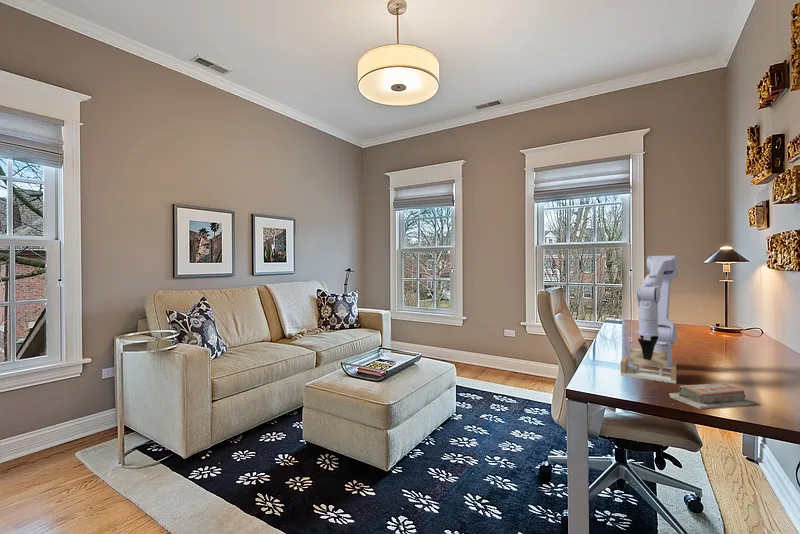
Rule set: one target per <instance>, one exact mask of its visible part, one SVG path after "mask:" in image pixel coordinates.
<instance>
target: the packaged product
mask: <svg viewBox="0 0 800 534" xmlns="http://www.w3.org/2000/svg"><path fill="white" fill-rule="evenodd" d="M668 395H669V398H670V399H673V400H676V401H679V402H680V403H683V404H686V405H689V406H691V407H694V408H696V409H699V410H704V409H705V410H706V409H718V408H732V407H733V408H734V407H743V406H744V407H745V406H753V405H754V402H753V401H749V400H747V399H746V394H745V390H744V389H743V388H741V387H740V386H735V385H732V384H729V383H726V382H725V383H723V382H722V383H719V382H718V383H703V384H700V383H699V384H684V385H683V384H682V385H680V386H679V387H678V392H670V393H669V394H668Z"/></svg>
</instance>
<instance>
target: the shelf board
mask: <svg viewBox="0 0 800 534" xmlns="http://www.w3.org/2000/svg"><path fill="white" fill-rule="evenodd" d="M629 364H632V365H634V364H638V366H639V365H641V366H647V367H650V366H655V367H654V368H658V367H662V368H663V369H666V368H667V352H663V351H654V350H653V355H652V359H651V360H647V359H644V357H643V352H642V348H634V347H633V348H632V347H630V349H629Z"/></svg>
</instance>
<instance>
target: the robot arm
mask: <svg viewBox="0 0 800 534" xmlns="http://www.w3.org/2000/svg"><path fill="white" fill-rule="evenodd" d="M646 268H647V272H648V274H647V275H646V276H645V277H644V279H643V282H642V285H641V286H640V287H637V290H636V299H637V300H636V301H637V307H638V330H635V331H634V333H635V334H639V337H640V338H637V341H638V344H639V345H640V349H642V352H643V357H644V359H647V360H651V359H652V355H653V350H654V351H663V352H667V368H665V369H666V370H667V369H668V370H671V362H673V356H672V355H673V345H675V344H676V343H677V341H678V340H677V339H678V331H677V326H676V323H674V322H673V321H672V320H670V319H669V316H670V315H669V314H670V299H671V298H670V297H671V285H672V281H673V280H674V279H675V278H677V277H678V274H679V257H678V256H677V254H676V255H675V254H674V255H648V257H647V258H646ZM649 367H652V368H656V367H655V366H649ZM657 368H658V369H659V367H657Z"/></svg>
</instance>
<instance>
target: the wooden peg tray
mask: <svg viewBox="0 0 800 534" xmlns="http://www.w3.org/2000/svg"><path fill="white" fill-rule="evenodd" d="M621 375H622V377H629V378H635V379H643V380H649V381H655V380H656V381H657V382H662V381H663V383H670V384H677V362H676V361H672V362H671V369H670V371H664V368H662V367H659V368H658V370H653V369H646V368H640V367H639V364H633V366H629V356H628V355H624V356H623V357H622V359H621V360H620V376H621Z"/></svg>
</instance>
